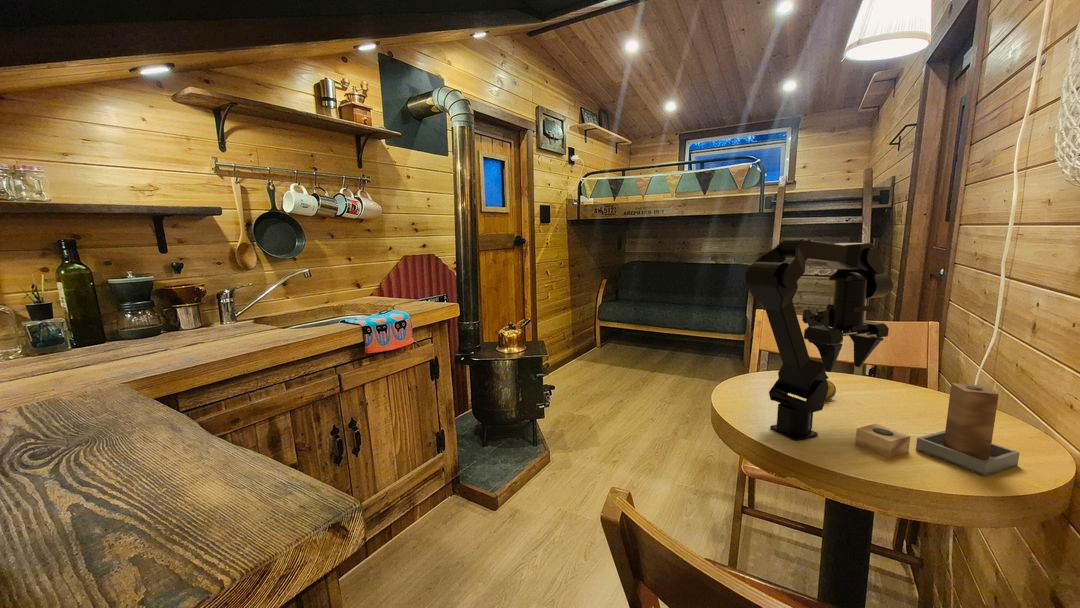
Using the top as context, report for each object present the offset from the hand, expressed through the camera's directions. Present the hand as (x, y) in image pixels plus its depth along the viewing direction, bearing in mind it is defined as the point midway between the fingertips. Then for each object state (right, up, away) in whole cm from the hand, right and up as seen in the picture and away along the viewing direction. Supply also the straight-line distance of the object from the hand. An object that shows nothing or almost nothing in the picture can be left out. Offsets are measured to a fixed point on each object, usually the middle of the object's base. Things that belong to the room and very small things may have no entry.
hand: (842, 369), depth 93 cm
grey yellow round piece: (+6, -10, +14) cm, 18 cm away
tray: (+11, -14, -15) cm, 24 cm away
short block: (-1, -14, -11) cm, 18 cm away
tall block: (+11, -14, -15) cm, 24 cm away
